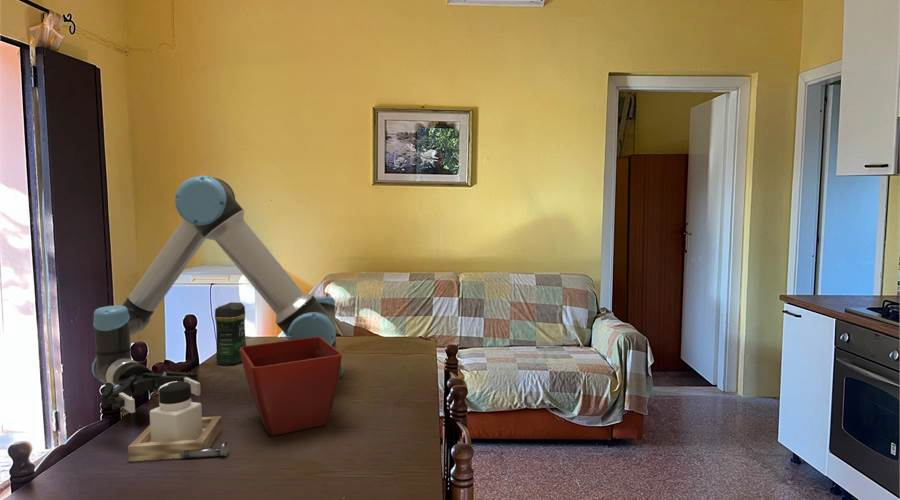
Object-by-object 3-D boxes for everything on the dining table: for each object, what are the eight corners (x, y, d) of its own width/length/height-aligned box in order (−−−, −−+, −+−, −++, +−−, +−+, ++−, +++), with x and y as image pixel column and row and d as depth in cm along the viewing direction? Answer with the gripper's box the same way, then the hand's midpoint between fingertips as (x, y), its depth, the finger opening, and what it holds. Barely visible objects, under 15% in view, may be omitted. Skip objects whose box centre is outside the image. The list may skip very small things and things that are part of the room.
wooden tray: (221, 429, 130) (221, 416, 129) (203, 456, 116) (202, 442, 115) (155, 433, 128) (154, 419, 128) (128, 461, 114) (127, 446, 114)
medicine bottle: (203, 435, 124) (200, 380, 123) (177, 449, 117) (174, 391, 116) (177, 431, 126) (174, 377, 125) (150, 444, 120) (147, 387, 118)
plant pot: (255, 446, 120) (252, 366, 119) (242, 415, 137) (239, 346, 136) (345, 428, 129) (343, 354, 128) (322, 401, 146) (320, 336, 145)
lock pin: (228, 452, 118) (227, 440, 117) (225, 458, 115) (224, 445, 115) (182, 455, 116) (182, 442, 116) (178, 461, 114) (177, 448, 114)
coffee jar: (237, 366, 178) (234, 306, 177) (212, 365, 179) (209, 306, 177) (251, 357, 188) (248, 300, 186) (227, 357, 189) (224, 300, 187)
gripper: (183, 380, 147) (223, 399, 133) (69, 407, 129) (103, 432, 115) (181, 351, 147) (222, 367, 133) (67, 374, 128) (100, 395, 114)
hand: (167, 397), depth 124 cm, fingers open, 13 cm apart
